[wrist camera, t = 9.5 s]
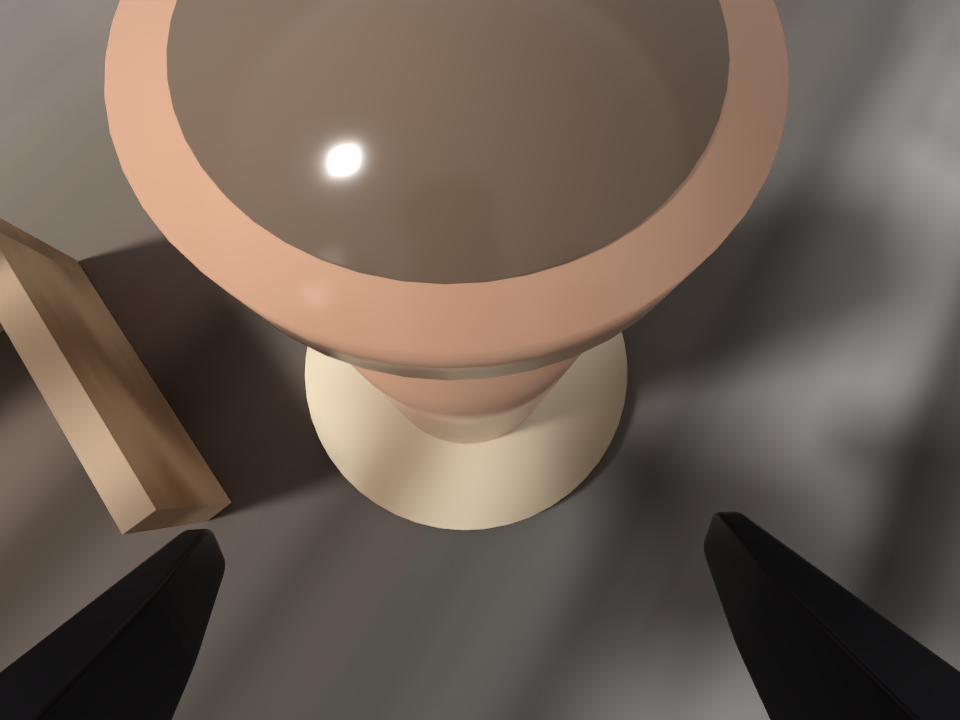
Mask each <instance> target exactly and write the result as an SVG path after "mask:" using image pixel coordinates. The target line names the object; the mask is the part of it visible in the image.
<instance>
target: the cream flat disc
mask: <svg viewBox="0 0 960 720" xmlns="http://www.w3.org/2000/svg"><path fill="white" fill-rule="evenodd" d="M305 385H306V396H307V401H308V406H309V410H310V414H311V419H312V421H313V424H314V426H315V429H316V432H317V434H318V437H319V439H320V441H321V443H322V445H323V446H324V448H325V450H326V452H327V454H328V455H329V457H330V459H331V460H332V461H333V463H334V464H335V465H336V467H337V468H338V469H339V470H340V472H341V473H342V474H343V476H344V477H345V478H346V479H347V480H348V481H349V482H350V483H351V484H352V485H353V486H354V487H355V488H356V489H357V490H358V491H360V492H361V493H362V494H364V495H365V496H366V497H368V498H369V499H370V500H372V501H373V502H374V503H376V504H377V505H379V506H381V507H383V508H385V509H386V510H388V511H390V512H392V513H394V514H396V515H398V516H400V517H403V518H406V519H408V520H411V521H414V522H416V523H420V524H424V525H429V526H433V527H437V528H444V529H456V530H474V529H488V528H493V527H498V526H503V525H508V524H511V523H514V522H517V521H520V520H523V519H526V518H529V517H531V516H533V515H535V514H537V513H539V512H541V511H543V510H545V509H547V508H549V507H551V506H552V505H554V504H555V503H557V502H558V501H559V500H561V499H562V498H564V497H565V496H567V495H568V494H569V493H570V492H572V491H573V490H574V489H575V488H576V487H577V486H578V485H579V484H580V483H581V482H582V481H583V480H584V479H585V478H586V477H587V476H588V475H589V474H590V472H591V471H592V470H593V469H594V467H595V466H596V465H597V464H598V463H599V461H600V460H601V458H602V456H603V455H604V453H605V451H606V450H607V448H608V446H609V445H610V443H611V441H612V438H613V436H614V434H615V431H616V429H617V427H618V424H619V421H620V418H621V414H622V411H623V407H624V403H625V396H626V388H627V357H626V350H625V343H624V339H623V335H622V332H621V333H619V334H618V335H616V336H614V337H613V338H611V339H610V340H608V341H606V342H604V343H602V344H600V345H598V346H596V347H594V348H592V349H590V350H587V351H585V352H583V353H582V354H581V355H580V356H579V357H578V358H577V360H576V361H575V362H574V363H573V364H572V366H571V367H570V368H569V369H568V370H567V371H566V373H565V374H564V375H563V376H562V377H561V378H560V380H559V381H558V382H557V383H556V384H555V386H554V387H553V388H552V389H551V390H550V391H549V393H548V394H547V395H546V396H545V397H544V398H543V400H542V401H541V402H540V403H539V404H538V405H537V407H536V408H535V409H534V410H533V411H532V413H531V414H530V415H529V416H528V417H527V418H526V419H525V420H524V421H523V422H522V423H521V424H520V425H519V426H518V427H516V428H515V429H513V430H512V431H510V432H509V433H507V434H505V435H503V436H501V437H499V438H496V439H493V440H490V441H486V442H481V443H474V444H460V443H452V442H448V441H443V440H441V439H438V438H435V437H433V436H431V435H429V434H427V433H425V432H423V431H422V430H421V429H419V428H418V427H416V426H415V425H414V424H413V423H412V422H411V421H410V420H408V419H407V418H406V417H405V416H404V415H403V414H402V413H401V412H400V411H399V410H398V409H397V408H396V407H395V406H394V405H393V404H392V403H391V402H390V401H389V400H387V399H386V398H385V397H384V396H383V395H382V394H381V393H380V392H379V391H378V390H377V389H376V388H375V387H374V386H373V385H372V384H371V383H370V382H369V381H368V380H366V379H365V378H364V377H363V376H362V375H361V374H360V373H359V372H358V371H357V370H356V369H355V368H354V367H353V366H352V365H351V364H349V363H346V362H343V361H340V360H337V359H334V358H332V357H329V356H326V355H324V354H322V353H320V352H318V351H316V350H314V349H312V348H310V347H307V353H306V363H305Z"/></svg>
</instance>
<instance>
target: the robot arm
mask: <svg viewBox="0 0 960 720" xmlns="http://www.w3.org/2000/svg"><path fill="white" fill-rule="evenodd" d="M704 552H705V557H706V560H707V563H708V565H709V568H710V571H711V574H712V577H713V580H714V583H715V586H716V589H717V591H718V594H719V597H720V600H721V603H722V606H723V609H724V612H725V615H726V618H727V620H728V623H729V626H730V629H731V632H732V634H733V637H734V640H735V642H736V645H737V647H738V649H739V652H740V654H741V656H742V659H743V661H744V663H745V665H746V667H747V670H748V672H749V674H750V676H751V678H752V680H753V683H754V685H755V687H756V689H757V691H758V694H759V696H760V698H761V700H762V702H763V705H764V707H765V709H766V711H767V713H768V715H769V718H770V720H960V672H959V671H958V670H957V669H955V668H954V667H953V666H951V665H950V664H948V663H947V662H946V661H944V660H943V659H941V658H940V657H939V656H937V655H936V654H935V653H933V652H932V651H930V650H929V649H928V648H926V647H925V646H924V645H922V644H921V643H919V642H918V641H917V640H915V639H914V638H913V637H911V636H910V635H908V634H907V633H906V632H904V631H903V630H902V629H900V628H899V627H897V626H896V625H895V624H893V623H892V622H891V621H889V620H888V619H886V618H885V617H884V616H882V615H881V614H880V613H878V612H877V611H875V610H874V609H873V608H871V607H870V606H869V605H867V604H866V603H864V602H863V601H862V600H860V599H859V598H857V597H856V596H855V595H853V594H852V593H851V592H849V591H848V590H846V589H845V588H844V587H842V586H841V585H840V584H838V583H837V582H835V581H834V580H833V579H831V578H830V577H829V576H827V575H826V574H824V573H823V572H822V571H820V570H819V569H818V568H816V567H815V566H813V565H812V564H811V563H809V562H808V561H807V560H805V559H804V558H802V557H801V556H800V555H798V554H797V553H796V552H794V551H793V550H791V549H790V548H789V547H787V546H786V545H784V544H783V543H782V542H780V541H779V540H778V539H776V538H775V537H773V536H772V535H771V534H769V533H768V532H767V531H765V530H764V529H762V528H761V527H760V526H758V525H757V524H756V523H754V522H753V521H751V520H750V519H749V518H747V517H746V516H745V515H743V514H741V513H739V512H718V513H716V514H715V515H713V517H712V520H711V523H710V526H709V529H708V532H707V535H706V538H705V542H704ZM224 570H225V560H224V557H223V554H222V552H221V549H220V547H219V545H218V542H217V540H216V538H215V535H214V533H213V532H212V531H211V530H209V529H194V530H186V531H184V532H182V533H181V534H179V535H178V536H177V537H175V538H174V539H173V540H171V541H170V542H169V543H167V544H166V545H165V546H164V547H162V548H161V549H160V550H158V551H157V552H156V553H155V554H153V555H152V556H151V557H149V558H148V559H147V560H145V561H144V562H143V563H142V564H140V565H139V566H138V567H136V568H135V569H134V570H132V571H131V572H130V573H129V574H127V575H126V576H125V577H123V578H122V579H121V580H120V581H118V582H117V583H116V584H114V585H113V586H112V587H110V588H109V589H108V590H107V591H105V592H104V593H103V594H101V595H100V596H99V597H97V598H96V599H95V600H94V601H92V602H91V603H90V604H88V605H87V606H86V607H85V608H83V609H82V610H81V611H79V612H78V613H77V614H75V615H74V616H73V617H72V618H70V619H69V620H68V621H66V622H65V623H64V624H62V625H61V626H60V627H59V628H57V629H56V630H55V631H53V632H52V633H51V634H50V635H48V636H47V637H46V638H44V639H43V640H42V641H40V642H39V643H38V644H37V645H35V646H34V647H33V648H31V649H30V650H29V651H27V652H26V653H25V654H24V655H22V656H21V657H20V658H18V659H17V660H16V661H15V662H13V663H12V664H11V665H9V666H8V667H7V668H5V669H4V670H3V671H2V672H0V720H172V717H173V715H174V713H175V710H176V708H177V706H178V703H179V701H180V699H181V696H182V694H183V692H184V689H185V687H186V684H187V682H188V680H189V677H190V675H191V672H192V670H193V667H194V665H195V662H196V659H197V656H198V653H199V650H200V647H201V644H202V641H203V638H204V635H205V632H206V628H207V625H208V622H209V619H210V616H211V613H212V609H213V606H214V603H215V600H216V597H217V594H218V590H219V587H220V584H221V581H222V578H223V574H224Z"/></svg>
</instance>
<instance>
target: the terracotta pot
mask: <svg viewBox="0 0 960 720" xmlns="http://www.w3.org/2000/svg"><path fill="white" fill-rule="evenodd" d="M788 86H789V67H788V59H787V51H786V43H785V36H784V32H783V29H782V26H781V22H780V19H779V15H778V12H777V8H776V5H775V2H774V0H120V2H119V5H118V8H117V11H116V13H115V16H114V19H113V22H112V25H111V31H110V36H109V41H108V47H107V52H106V57H105V95H104V96H105V102H106V109H107V115H108V122H109V128H110V134H111V137H112V140H113V143H114V146H115V149H116V152H117V155H118V158H119V161H120V164H121V167H122V170H123V172H124V174H125V175H126V177H127V179H128V181H129V183H130V185H131V187H132V188H133V190H134V192H135V194H136V196H137V198H138V200H139V201H140V203H141V205H142V207H143V208H144V209H145V211H146V212H147V213H148V215H149V216H150V217H151V219H152V220H153V221H154V222H155V224H156V225H157V226H158V228H159V229H160V230H161V232H162V233H163V234H164V235H165V237H166V238H167V239H168V241H169V242H170V243H172V244H173V245H174V246H175V247H176V248H177V249H178V250H179V251H180V252H181V253H182V254H183V255H184V256H185V257H186V258H187V259H188V260H190V261H191V262H192V263H193V264H194V265H195V266H196V267H197V268H198V269H199V270H200V271H201V272H202V273H204V274H205V275H206V276H207V277H209V278H210V279H211V280H213V281H214V282H215V283H217V284H218V285H219V286H220V287H222V288H223V289H224V290H226V291H227V292H228V293H230V294H231V295H232V296H233V297H235V298H236V299H237V300H239V301H240V302H241V303H243V304H244V305H245V306H246V307H248V308H249V309H250V310H252V311H253V312H254V313H256V314H257V315H258V316H260V317H261V318H263V319H264V320H265V321H267V322H268V323H270V324H271V325H273V326H274V327H275V328H277V329H278V330H280V331H281V332H283V333H284V334H285V335H287V336H288V337H290V338H292V339H294V340H296V341H298V342H300V343H302V344H304V345H306V346H308V347H310V348H312V349H314V350H316V351H318V352H320V353H322V354H324V355H326V356H329V357H332V358H334V359H337V360H340V361H343V362H346V363H349V364H351V365H352V366H353V367H354V368H355V369H356V370H357V371H358V372H359V373H360V374H361V375H362V376H363V377H364V378H365V379H366V380H368V381H369V382H370V383H371V384H372V385H373V386H374V387H375V388H376V389H377V390H378V391H379V392H380V393H381V394H382V395H383V396H384V397H385V398H386V399H387V400H389V401H390V402H391V403H392V404H393V405H394V406H395V407H396V408H397V409H398V410H399V411H400V412H401V413H402V414H403V415H404V416H405V417H406V418H407V419H408V420H410V421H411V422H412V423H413V424H414V425H415V426H416V427H418V428H419V429H421V430H422V431H423V432H425V433H427V434H429V435H431V436H433V437H435V438H438V439H441V440H443V441H448V442H452V443H460V444H474V443H481V442H486V441H490V440H493V439H496V438H499V437H501V436H503V435H505V434H507V433H509V432H510V431H512V430H513V429H515V428H516V427H518V426H519V425H520V424H521V423H522V422H523V421H524V420H525V419H526V418H527V417H528V416H529V415H530V414H531V413H532V411H533V410H534V409H535V408H536V407H537V405H538V404H539V403H540V402H541V401H542V400H543V398H544V397H545V396H546V395H547V394H548V393H549V391H550V390H551V389H552V388H553V387H554V386H555V384H556V383H557V382H558V381H559V380H560V378H561V377H562V376H563V375H564V374H565V373H566V371H567V370H568V369H569V368H570V367H571V366H572V364H573V363H574V362H575V361H576V360H577V358H578V357H579V356H580V355H581V354H582V353H583V352H585V351H587V350H590V349H592V348H594V347H596V346H598V345H600V344H602V343H604V342H606V341H608V340H610V339H611V338H613V337H614V336H616V335H618V334H619V333H621V332H622V331H624V330H625V329H627V328H628V327H630V326H631V325H633V324H634V323H636V322H637V321H639V320H640V319H642V318H643V317H644V316H645V315H646V314H647V313H648V312H650V311H651V310H652V309H653V308H654V307H655V306H656V305H657V304H659V303H660V302H661V301H662V300H663V299H664V298H665V297H667V296H668V295H669V294H670V293H671V292H672V291H673V290H674V289H675V288H676V287H677V286H678V285H679V284H680V283H681V282H682V281H683V280H685V279H686V278H687V277H688V276H689V275H690V274H691V273H692V272H693V271H694V270H695V269H696V268H697V267H698V266H699V265H700V264H701V263H702V262H703V261H704V260H705V259H707V258H708V257H709V256H710V255H711V254H712V253H713V252H714V251H715V250H716V249H717V248H718V247H719V246H720V244H721V243H722V242H723V241H724V240H725V238H726V237H727V236H728V235H729V234H730V232H731V231H732V230H733V229H734V228H735V226H736V225H737V224H738V223H739V222H740V220H741V219H742V218H743V217H744V216H745V214H746V213H747V211H748V209H749V208H750V206H751V204H752V202H753V201H754V199H755V197H756V196H757V194H758V192H759V191H760V189H761V187H762V186H763V184H764V182H765V181H766V178H767V176H768V173H769V171H770V168H771V166H772V163H773V161H774V158H775V155H776V153H777V150H778V148H779V145H780V142H781V137H782V132H783V127H784V123H785V118H786V113H787V108H788Z"/></svg>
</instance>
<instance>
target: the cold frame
mask: <svg viewBox="0 0 960 720" xmlns="http://www.w3.org/2000/svg"><path fill="white" fill-rule="evenodd" d="M4 330H5V331H6V333H7V335H8V336H9V338H10V340H11V342H12V343H13V345H14V347H15V349H16V350H17V352H18V354H19V356H20V357H21V359H22V361H23V362H24V364H25V366H26V368H27V369H28V371H29V373H30V375H31V376H32V378H33V380H34V382H35V383H36V385H37V387H38V389H39V390H40V392H41V394H42V395H43V397H44V399H45V401H46V402H47V404H48V406H49V408H50V409H51V411H52V413H53V415H54V416H55V418H56V420H57V422H58V423H59V425H60V427H61V428H62V430H63V432H64V434H65V435H66V437H67V439H68V441H69V442H70V444H71V446H72V448H73V449H74V451H75V453H76V455H77V456H78V458H79V460H80V462H81V463H82V465H83V467H84V468H85V470H86V472H87V474H88V475H89V477H90V479H91V481H92V482H93V484H94V486H95V488H96V489H97V491H98V493H99V495H100V496H101V498H102V500H103V501H104V503H105V505H106V507H107V508H108V510H109V512H110V514H111V515H112V517H113V519H114V521H115V522H116V524H117V526H118V528H119V529H120V531H121V533H122V534H129V533H135V532H142V531H148V530H155V529H161V528H167V527H174V526H180V525H187V524H193V523H200V522H206V521H208V520H209V519H211V518H212V517H213V516H215V515H216V514H217V513H219V512H220V511H221V510H223V509H224V508H225V507H227V506H228V505H229V504H231V501H230V499H229V498H228V496H227V495H226V493H225V492H224V490H223V488H222V487H221V485H220V484H219V482H218V481H217V479H216V478H215V476H214V474H213V473H212V471H211V470H210V468H209V467H208V465H207V463H206V462H205V460H204V459H203V457H202V456H201V454H200V452H199V451H198V449H197V448H196V446H195V445H194V443H193V442H192V440H191V438H190V437H189V435H188V434H187V432H186V431H185V429H184V427H183V426H182V424H181V423H180V421H179V420H178V418H177V417H176V415H175V413H174V412H173V410H172V409H171V407H170V406H169V404H168V402H167V401H166V399H165V398H164V396H163V395H162V393H161V392H160V390H159V388H158V387H157V385H156V384H155V382H154V381H153V379H152V377H151V376H150V374H149V373H148V371H147V370H146V368H145V367H144V365H143V363H142V362H141V360H140V359H139V357H138V356H137V354H136V352H135V351H134V349H133V348H132V346H131V345H130V343H129V342H128V340H127V338H126V337H125V335H124V334H123V332H122V331H121V329H120V327H119V326H118V324H117V323H116V321H115V320H114V318H113V317H112V315H111V313H110V312H109V310H108V309H107V307H106V306H105V304H104V302H103V301H102V299H101V298H100V296H99V295H98V293H97V292H96V290H95V288H94V287H93V285H92V284H91V282H90V281H89V279H88V277H87V276H86V274H85V273H84V271H83V270H82V268H81V266H80V265H79V263H78V262H77V260H75V259H73V258H71V257H69V256H68V255H66V254H64V253H62V252H60V251H59V250H57V249H55V248H53V247H51V246H50V245H48V244H46V243H44V242H42V241H41V240H39V239H37V238H35V237H33V236H32V235H30V234H28V233H26V232H24V231H22V230H21V229H19V228H17V227H15V226H13V225H12V224H10V223H8V222H6V221H4V220H3V219H1V218H0V332H2V331H4Z"/></svg>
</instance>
